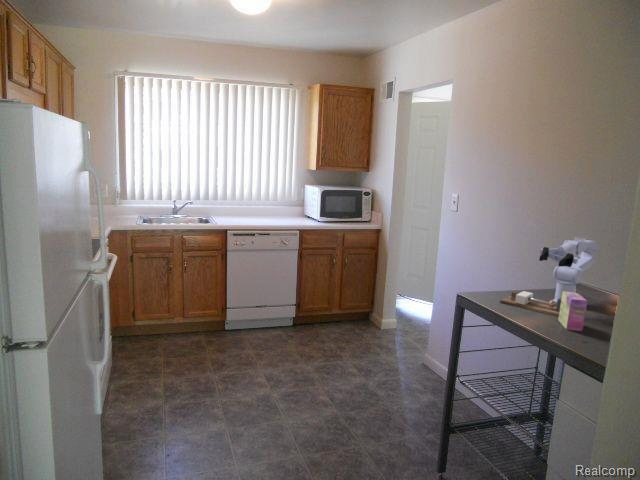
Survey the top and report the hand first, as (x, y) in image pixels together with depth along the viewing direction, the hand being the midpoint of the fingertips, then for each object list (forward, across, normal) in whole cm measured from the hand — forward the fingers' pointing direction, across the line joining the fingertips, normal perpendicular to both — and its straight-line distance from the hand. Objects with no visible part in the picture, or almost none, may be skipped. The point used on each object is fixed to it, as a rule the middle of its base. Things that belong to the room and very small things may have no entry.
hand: (549, 261), depth 191 cm
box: (+13, +16, +18) cm, 27 cm away
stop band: (0, +4, +19) cm, 20 cm away
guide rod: (+1, -2, +19) cm, 19 cm away
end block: (0, +8, +20) cm, 22 cm away
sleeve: (+2, -7, +20) cm, 22 cm away
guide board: (+1, -2, +21) cm, 21 cm away
